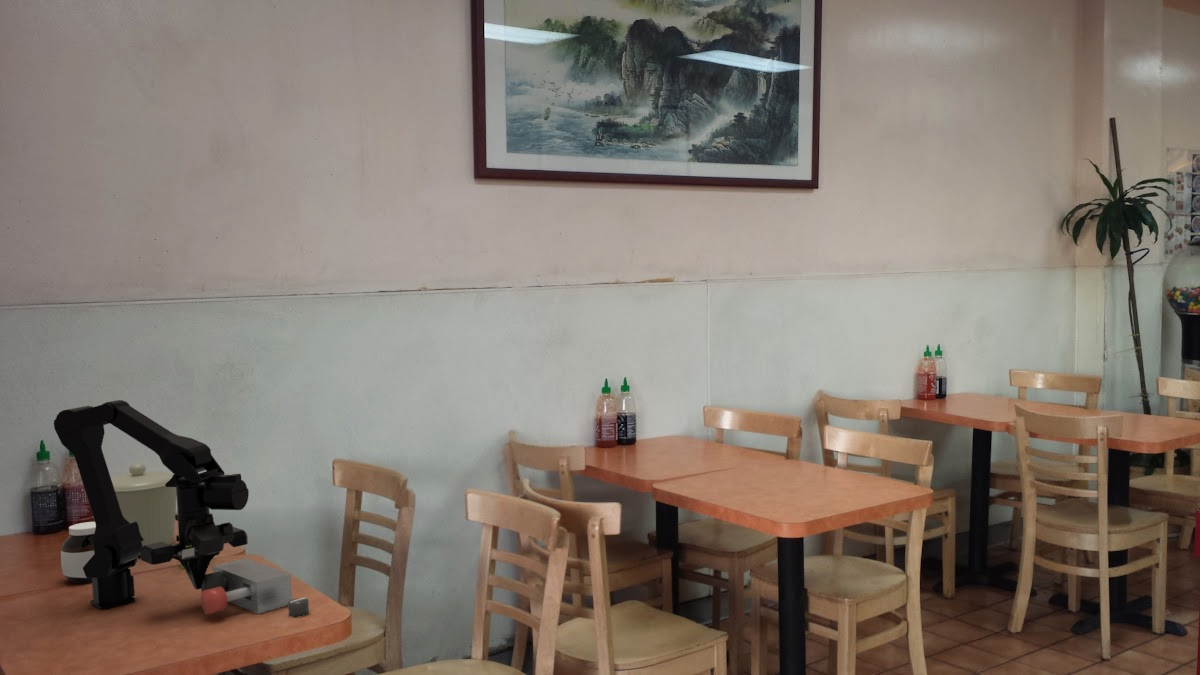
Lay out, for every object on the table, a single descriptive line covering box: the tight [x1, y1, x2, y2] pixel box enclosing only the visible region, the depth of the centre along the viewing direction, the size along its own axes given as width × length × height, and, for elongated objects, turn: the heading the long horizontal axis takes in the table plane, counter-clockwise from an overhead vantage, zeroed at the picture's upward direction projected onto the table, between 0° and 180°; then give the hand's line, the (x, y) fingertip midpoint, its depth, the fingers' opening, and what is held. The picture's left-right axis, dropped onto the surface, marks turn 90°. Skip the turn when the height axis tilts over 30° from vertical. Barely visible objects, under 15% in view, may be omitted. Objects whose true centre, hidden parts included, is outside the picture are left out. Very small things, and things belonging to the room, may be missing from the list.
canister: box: [110, 462, 177, 557], centre depth 235 cm, size 18×18×21 cm
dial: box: [287, 596, 310, 618], centre depth 186 cm, size 4×4×3 cm
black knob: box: [200, 571, 226, 592], centre depth 198 cm, size 12×4×4 cm, turn 136°
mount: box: [212, 557, 293, 615], centre depth 195 cm, size 7×18×6 cm, turn 46°
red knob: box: [200, 586, 251, 615], centre depth 188 cm, size 12×4×4 cm, turn 136°
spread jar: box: [60, 521, 96, 584], centre depth 216 cm, size 12×11×12 cm
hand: (197, 589), depth 192 cm, fingers closed
